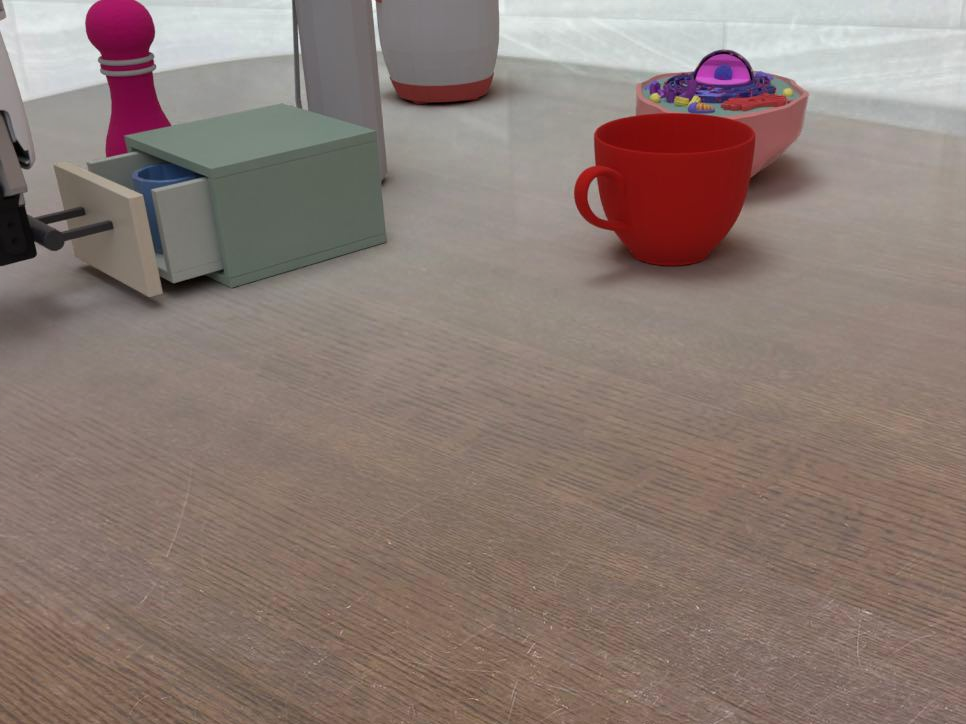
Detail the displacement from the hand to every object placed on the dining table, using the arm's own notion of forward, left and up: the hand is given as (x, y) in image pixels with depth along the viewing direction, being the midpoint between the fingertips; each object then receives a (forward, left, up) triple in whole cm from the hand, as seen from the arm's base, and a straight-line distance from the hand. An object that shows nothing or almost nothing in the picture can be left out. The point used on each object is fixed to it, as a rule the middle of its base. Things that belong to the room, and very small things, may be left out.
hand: (13, 259), depth 92 cm
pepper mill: (+21, +19, -4) cm, 29 cm away
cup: (+14, 0, -2) cm, 14 cm away
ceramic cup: (+43, -27, -4) cm, 51 cm away
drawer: (+12, 0, -3) cm, 12 cm away
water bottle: (+38, +11, -4) cm, 40 cm away
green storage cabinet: (+22, 0, -4) cm, 22 cm away
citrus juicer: (+68, +34, -4) cm, 76 cm away
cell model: (+65, -15, -4) cm, 67 cm away
